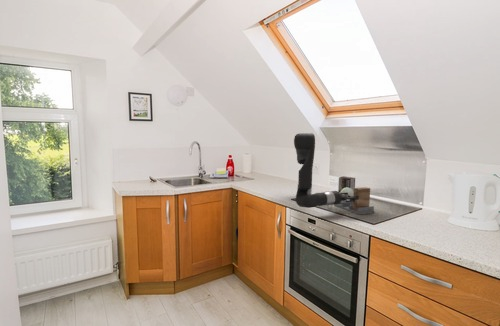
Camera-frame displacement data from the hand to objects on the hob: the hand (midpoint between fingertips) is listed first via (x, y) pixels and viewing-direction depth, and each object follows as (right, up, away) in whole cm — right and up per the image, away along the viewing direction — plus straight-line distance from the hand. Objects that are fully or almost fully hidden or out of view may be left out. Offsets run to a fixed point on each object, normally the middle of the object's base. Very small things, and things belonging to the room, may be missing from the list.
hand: (352, 195), depth 162 cm
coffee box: (+6, -7, +30) cm, 31 cm away
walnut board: (+6, -9, +4) cm, 11 cm away
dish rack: (+4, -9, +10) cm, 14 cm away
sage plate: (+1, -8, +15) cm, 18 cm away
